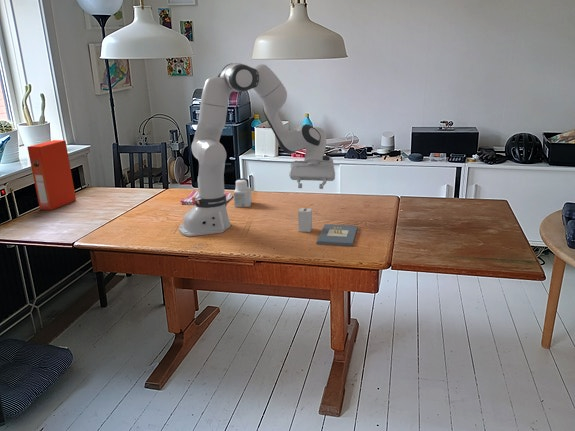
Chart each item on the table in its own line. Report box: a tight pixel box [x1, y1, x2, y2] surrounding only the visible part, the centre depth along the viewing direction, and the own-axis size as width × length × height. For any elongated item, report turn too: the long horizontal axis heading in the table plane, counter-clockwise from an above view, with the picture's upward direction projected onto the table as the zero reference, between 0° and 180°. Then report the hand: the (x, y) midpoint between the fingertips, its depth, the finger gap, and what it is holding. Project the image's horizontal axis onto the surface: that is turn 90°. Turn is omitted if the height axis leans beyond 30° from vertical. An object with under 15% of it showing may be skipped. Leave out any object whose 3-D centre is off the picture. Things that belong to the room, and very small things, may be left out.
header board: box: [316, 223, 358, 247], centre depth 207 cm, size 20×14×4 cm
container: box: [233, 177, 253, 208], centre depth 251 cm, size 8×8×13 cm
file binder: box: [26, 139, 77, 211], centre depth 257 cm, size 8×17×32 cm, turn 161°
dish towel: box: [179, 189, 234, 206], centre depth 261 cm, size 17×23×4 cm
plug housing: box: [297, 207, 313, 233], centre depth 214 cm, size 4×5×9 cm
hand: (310, 188), depth 222 cm, fingers open, 8 cm apart
